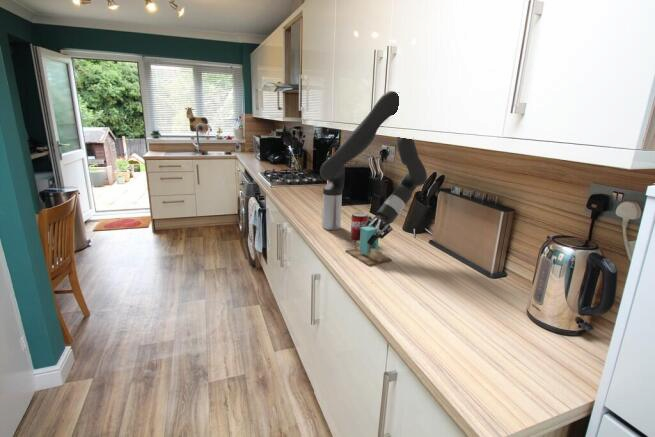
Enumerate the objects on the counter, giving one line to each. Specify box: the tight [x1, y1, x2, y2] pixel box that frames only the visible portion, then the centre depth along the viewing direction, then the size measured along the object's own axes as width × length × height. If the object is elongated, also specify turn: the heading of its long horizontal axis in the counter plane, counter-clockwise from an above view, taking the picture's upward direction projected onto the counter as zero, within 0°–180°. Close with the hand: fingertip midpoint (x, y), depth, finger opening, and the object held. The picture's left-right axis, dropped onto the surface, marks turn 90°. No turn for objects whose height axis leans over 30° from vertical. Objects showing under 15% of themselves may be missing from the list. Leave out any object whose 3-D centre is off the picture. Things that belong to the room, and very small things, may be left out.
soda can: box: [350, 211, 369, 242], centre depth 156 cm, size 7×7×12 cm
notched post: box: [360, 226, 379, 255], centre depth 137 cm, size 4×6×10 cm
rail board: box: [345, 241, 392, 267], centre depth 138 cm, size 16×11×4 cm
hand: (365, 241), depth 136 cm, fingers closed on notched post, 4 cm apart
